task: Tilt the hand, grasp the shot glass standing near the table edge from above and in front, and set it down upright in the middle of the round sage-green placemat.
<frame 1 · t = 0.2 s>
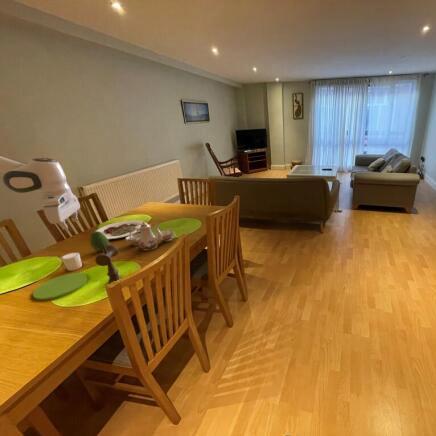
hand: (70, 224, 110), 25 cm above the table, tool pointing down, fingers open, 8 cm apart
avocado: (102, 250, 137), on the table
placemat: (61, 286, 107), on the table
plated food: (122, 231, 162), on the table
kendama: (115, 281, 111), on the table
shot glass: (75, 267, 121), on the table
chinaware: (151, 245, 144), on the table
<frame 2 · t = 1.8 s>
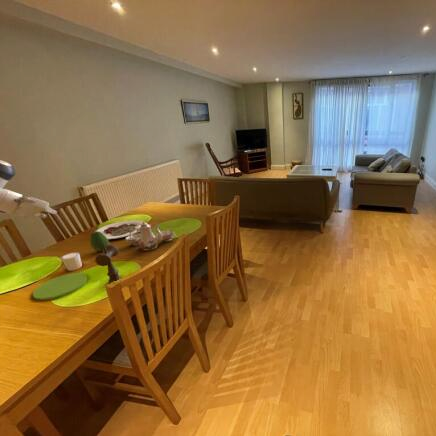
hand: (50, 214, 114), 28 cm above the table, tool tilted 50°, fingers open, 8 cm apart
nothing on the table moved.
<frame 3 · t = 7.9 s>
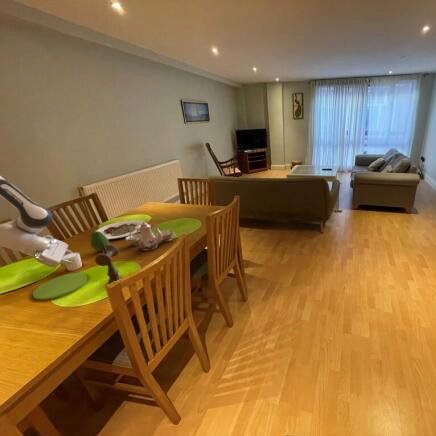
hand: (73, 259, 120), 4 cm above the table, tool tilted 45°, fingers closed on shot glass, 7 cm apart
shot glass: (75, 267, 121), on the table, touching gripper
everything else where it was.
when the fingers open (5 cm above the table, at t = 16.2 s): shot glass stays where it is, resting on placemat.
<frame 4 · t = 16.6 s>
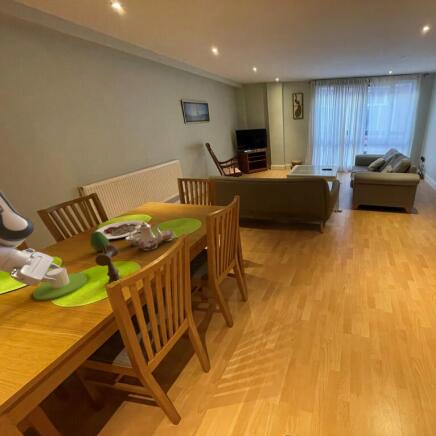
hand: (58, 275, 105), 6 cm above the table, tool tilted 45°, fingers open, 8 cm apart
shot glass: (61, 284, 107), point 1 cm above the table, touching placemat
everything else where it was.
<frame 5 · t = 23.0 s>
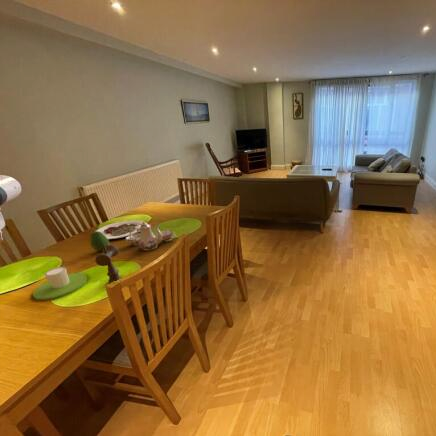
nothing on the table moved.
at the end: shot glass inside the target area on the placemat (0.1 cm from its centre), point 0.8 cm above the placemat's base; shot glass tilted 0°; the gripper is holding nothing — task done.
